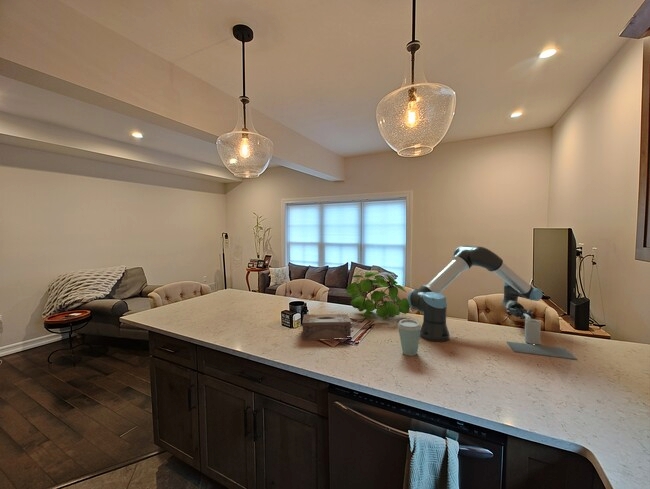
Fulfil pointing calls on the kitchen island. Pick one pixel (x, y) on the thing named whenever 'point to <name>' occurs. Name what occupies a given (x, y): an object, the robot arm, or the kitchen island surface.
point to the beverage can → (532, 331)
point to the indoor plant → (377, 296)
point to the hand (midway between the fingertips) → (529, 319)
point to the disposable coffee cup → (409, 336)
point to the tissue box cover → (325, 326)
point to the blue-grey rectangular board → (541, 350)
